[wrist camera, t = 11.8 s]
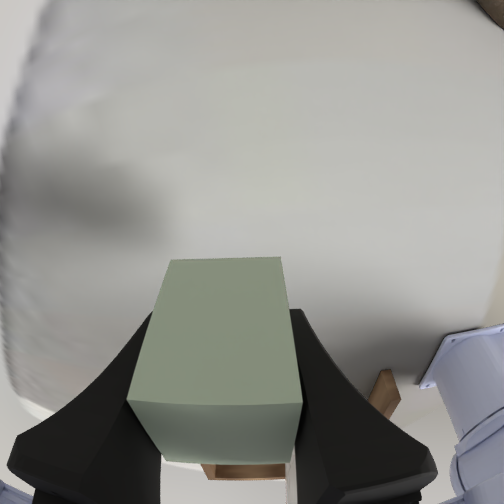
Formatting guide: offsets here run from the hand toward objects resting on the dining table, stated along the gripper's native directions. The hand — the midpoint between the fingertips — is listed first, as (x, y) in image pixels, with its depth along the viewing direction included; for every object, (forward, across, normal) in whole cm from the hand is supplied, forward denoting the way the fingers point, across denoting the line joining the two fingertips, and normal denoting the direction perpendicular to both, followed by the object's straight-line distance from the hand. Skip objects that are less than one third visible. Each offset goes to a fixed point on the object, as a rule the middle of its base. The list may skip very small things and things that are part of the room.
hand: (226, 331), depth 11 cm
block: (+2, 0, 0) cm, 2 cm away
